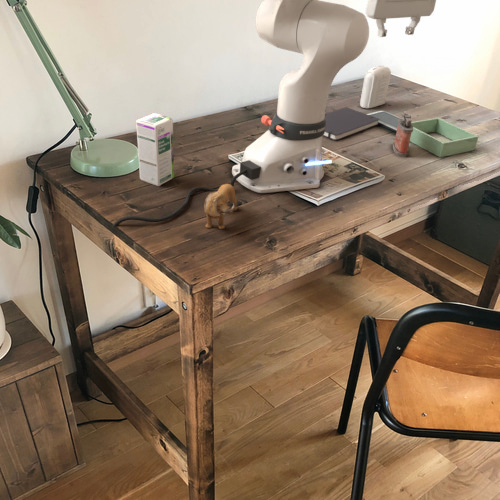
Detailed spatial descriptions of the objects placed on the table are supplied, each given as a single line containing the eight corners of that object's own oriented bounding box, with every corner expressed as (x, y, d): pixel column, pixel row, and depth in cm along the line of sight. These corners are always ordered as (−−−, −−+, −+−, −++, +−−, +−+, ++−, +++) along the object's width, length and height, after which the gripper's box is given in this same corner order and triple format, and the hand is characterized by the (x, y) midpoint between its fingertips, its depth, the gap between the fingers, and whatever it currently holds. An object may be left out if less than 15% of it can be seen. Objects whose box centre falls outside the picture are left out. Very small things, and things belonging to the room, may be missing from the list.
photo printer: (376, 100, 189) (383, 62, 182) (386, 103, 187) (394, 65, 180) (357, 106, 183) (363, 67, 176) (368, 110, 180) (375, 70, 174)
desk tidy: (440, 157, 152) (443, 143, 150) (401, 136, 163) (404, 123, 161) (474, 150, 158) (478, 136, 156) (435, 130, 169) (438, 117, 167)
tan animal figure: (226, 240, 112) (228, 199, 107) (199, 236, 112) (200, 195, 107) (239, 204, 124) (241, 166, 119) (215, 201, 125) (216, 163, 120)
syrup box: (158, 187, 129) (157, 125, 121) (138, 179, 131) (135, 118, 123) (174, 178, 133) (173, 118, 125) (154, 171, 135) (152, 111, 127)
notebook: (345, 111, 178) (300, 126, 165) (346, 106, 177) (301, 121, 164) (379, 124, 171) (335, 140, 158) (380, 119, 170) (336, 135, 157)
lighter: (409, 157, 151) (417, 120, 146) (396, 156, 151) (404, 120, 146) (402, 145, 158) (410, 110, 152) (390, 144, 158) (397, 109, 152)
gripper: (382, -20, 135) (372, 40, 142) (445, -22, 144) (432, 35, 151) (365, -25, 139) (356, 34, 147) (427, -26, 148) (415, 30, 156)
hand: (395, 35), depth 149 cm, fingers open, 8 cm apart
